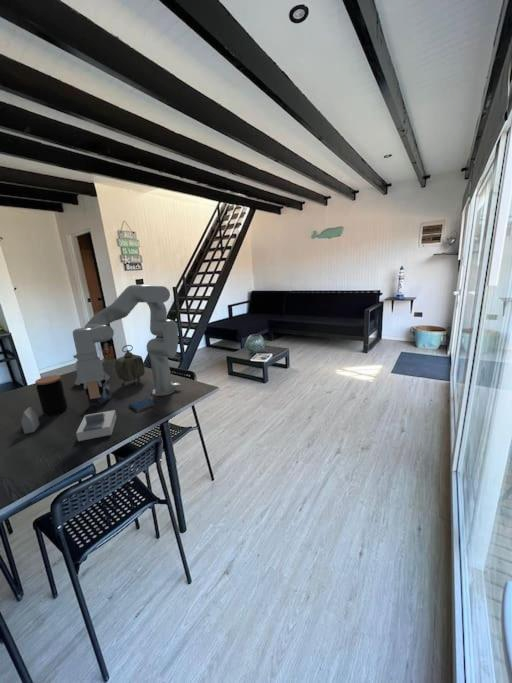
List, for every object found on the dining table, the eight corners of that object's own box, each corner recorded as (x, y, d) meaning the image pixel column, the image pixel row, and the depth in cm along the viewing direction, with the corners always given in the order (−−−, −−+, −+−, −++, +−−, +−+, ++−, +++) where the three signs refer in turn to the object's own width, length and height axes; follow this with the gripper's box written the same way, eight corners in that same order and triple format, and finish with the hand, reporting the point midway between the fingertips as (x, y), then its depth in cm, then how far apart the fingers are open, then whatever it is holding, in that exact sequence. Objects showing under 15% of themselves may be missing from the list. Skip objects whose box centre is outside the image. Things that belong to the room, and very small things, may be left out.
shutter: (104, 420, 131) (103, 412, 130) (101, 428, 125) (100, 420, 124) (87, 423, 129) (85, 415, 128) (83, 431, 123) (81, 423, 122)
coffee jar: (72, 407, 155) (65, 375, 150) (53, 417, 145) (45, 384, 140) (58, 405, 158) (50, 374, 154) (38, 415, 149) (29, 382, 144)
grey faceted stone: (39, 424, 139) (34, 405, 137) (34, 431, 133) (28, 412, 130) (30, 426, 138) (25, 407, 135) (24, 433, 132) (18, 413, 129)
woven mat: (156, 406, 153) (156, 402, 152) (136, 413, 146) (136, 410, 145) (147, 400, 160) (147, 396, 160) (128, 407, 153) (127, 403, 152)
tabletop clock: (139, 378, 191) (133, 341, 185) (148, 381, 186) (142, 343, 180) (118, 386, 180) (111, 347, 174) (127, 389, 175) (119, 349, 168)
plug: (100, 397, 131) (96, 376, 128) (90, 399, 129) (85, 377, 127) (101, 393, 134) (97, 373, 132) (91, 395, 133) (87, 374, 130)
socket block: (116, 417, 142) (115, 409, 141) (111, 434, 127) (109, 426, 126) (86, 422, 138) (85, 415, 137) (78, 441, 124) (76, 432, 123)
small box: (99, 407, 154) (95, 388, 151) (88, 406, 155) (85, 388, 152) (112, 398, 164) (109, 380, 161) (102, 397, 165) (99, 380, 162)
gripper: (63, 361, 121) (72, 402, 125) (107, 355, 126) (114, 394, 131) (67, 356, 128) (76, 395, 132) (109, 351, 133) (116, 388, 138)
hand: (95, 394), depth 131 cm, fingers closed on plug, 4 cm apart
